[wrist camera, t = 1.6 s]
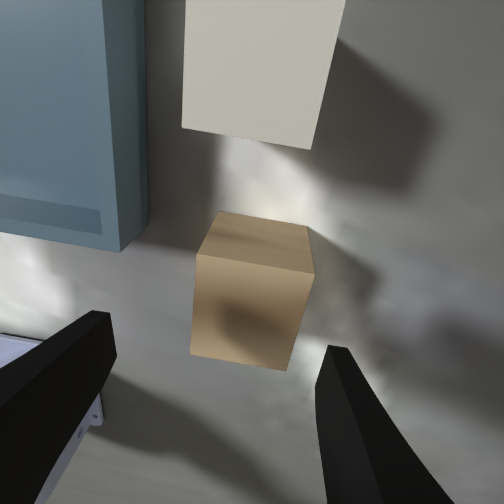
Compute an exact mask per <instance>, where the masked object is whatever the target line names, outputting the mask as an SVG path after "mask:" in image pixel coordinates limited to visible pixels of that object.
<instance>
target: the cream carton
mask: <svg viewBox="0 0 504 504" xmlns="http://www.w3.org/2000/svg"><path fill="white" fill-rule="evenodd" d="M345 1H346V0H186V12H185V43H184V73H183V103H182V128H187V129H193V130H198V131H204V132H210V133H216V134H222V135H227V136H233V137H239V138H245V139H251V140H256V141H262V142H268V143H274V144H280V145H285V146H291V147H297V148H303V149H308V150H311V146H312V142H313V137H314V133H315V129H316V125H317V120H318V116H319V112H320V108H321V103H322V99H323V95H324V91H325V86H326V82H327V78H328V74H329V69H330V65H331V61H332V57H333V52H334V48H335V44H336V40H337V35H338V31H339V27H340V23H341V18H342V14H343V10H344V6H345Z"/></svg>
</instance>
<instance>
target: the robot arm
mask: <svg viewBox="0 0 504 504" xmlns="http://www.w3.org/2000/svg"><path fill="white" fill-rule="evenodd" d="M116 358H117V353H116V347H115V341H114V334H113V328H112V322H111V316H110V313H108V312H101V311H95V310H92V311H90V312H88V313H87V314H85V315H83V316H82V317H80V318H79V319H77V320H76V321H74V322H73V323H71V324H70V325H68V326H67V327H65V328H63V329H62V330H60V331H59V332H57V333H56V334H54V335H53V336H51V337H50V338H48V339H47V340H45V341H37V340H32V339H26V338H21V337H15V336H9V335H4V334H0V504H44V503H45V502H46V500H47V499H48V498H49V496H50V495H51V493H52V491H53V490H54V488H55V486H56V484H57V483H58V481H59V479H60V477H61V476H62V474H63V472H64V470H65V469H66V467H67V465H68V463H69V462H70V460H71V458H72V456H73V454H74V453H75V451H76V449H77V447H78V446H79V444H80V442H81V440H82V439H83V437H84V435H85V433H86V432H87V430H88V428H89V426H90V425H94V426H101V425H102V423H103V421H104V419H103V412H102V406H101V399H100V391H101V389H102V387H103V385H104V383H105V381H106V379H107V377H108V375H109V373H110V371H111V369H112V366H113V364H114V362H115V360H116ZM315 409H316V424H317V431H318V439H319V446H320V453H321V460H322V468H323V475H324V482H325V489H326V496H327V504H454V502H453V501H452V500H451V499H450V498H449V496H448V495H447V494H446V493H445V491H444V490H443V489H442V488H441V486H440V485H439V484H438V483H437V481H436V480H435V479H434V478H433V476H432V475H431V474H430V473H429V471H428V470H427V469H426V467H425V466H424V465H423V463H422V462H421V461H420V459H419V458H418V457H417V455H416V454H415V453H414V451H413V450H412V448H411V447H410V446H409V444H408V443H407V441H406V440H405V439H404V437H403V436H402V434H401V433H400V431H399V430H398V429H397V427H396V426H395V424H394V423H393V421H392V420H391V418H390V417H389V415H388V414H387V412H386V410H385V409H384V407H383V406H382V404H381V403H380V401H379V400H378V398H377V397H376V395H375V393H374V392H373V390H372V388H371V387H370V385H369V383H368V382H367V380H366V379H365V377H364V375H363V373H362V372H361V370H360V368H359V367H358V365H357V363H356V361H355V360H354V358H353V356H352V354H351V353H350V351H349V350H348V348H345V347H339V346H332V345H328V347H327V350H326V353H325V356H324V360H323V363H322V366H321V369H320V372H319V375H318V378H317V382H316V385H315Z"/></svg>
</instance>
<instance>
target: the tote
mask: <svg viewBox="0 0 504 504" xmlns="http://www.w3.org/2000/svg"><path fill="white" fill-rule="evenodd" d="M147 225H148V173H147V122H146V72H145V21H144V0H0V232H4V233H10V234H16V235H22V236H27V237H33V238H39V239H44V240H50V241H56V242H62V243H67V244H73V245H79V246H84V247H90V248H96V249H101V250H107V251H113V252H119V253H121V252H122V251H123V250H124V248H125V247H126V246H127V245H128V244H129V243H130V242H131V241H132V240H133V239H134V238H135V237H136V236H137V235H138V234H139V233H140V232H141V231H142V230H143V229H144V228H145V227H146V226H147Z"/></svg>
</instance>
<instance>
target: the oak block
mask: <svg viewBox="0 0 504 504" xmlns="http://www.w3.org/2000/svg"><path fill="white" fill-rule="evenodd" d="M314 276H315V271H314V265H313V259H312V253H311V248H310V242H309V236H308V230H307V226H303V225H297V224H291V223H285V222H280V221H274V220H268V219H262V218H257V217H251V216H245V215H239V214H234V213H228V212H222V211H219V212H218V214H217V216H216V218H215V220H214V222H213V224H212V226H211V227H210V229H209V231H208V233H207V235H206V237H205V239H204V241H203V243H202V245H201V247H200V249H199V251H198V253H197V260H196V274H195V289H194V303H193V318H192V332H191V347H190V354H191V355H197V356H203V357H208V358H214V359H219V360H225V361H231V362H236V363H242V364H248V365H253V366H259V367H265V368H270V369H276V370H282V371H286V370H287V367H288V363H289V360H290V356H291V353H292V350H293V346H294V343H295V340H296V336H297V333H298V330H299V326H300V323H301V320H302V316H303V313H304V310H305V306H306V303H307V300H308V296H309V293H310V290H311V286H312V283H313V280H314Z"/></svg>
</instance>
